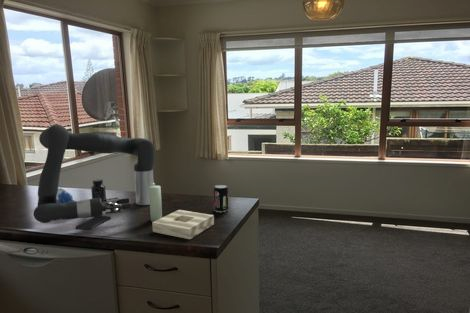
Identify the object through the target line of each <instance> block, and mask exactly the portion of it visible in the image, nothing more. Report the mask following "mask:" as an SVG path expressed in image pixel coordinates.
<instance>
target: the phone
mask: <svg viewBox="0 0 470 313" xmlns="http://www.w3.org/2000/svg"><path fill="white" fill-rule="evenodd" d="M110 220H112V217H111V216H107V215H102V216H97V217H90V218H89V219H88V220H85V221H83V222H81V223H79V224H78V225H75V229H77V230H85V231H87V230H88V231H91V230H93V229H95V228H97V227H99V226H101V225H103V224H105V223H107V222H108V221H110ZM106 221H107V222H106ZM104 222H105V223H104Z"/></svg>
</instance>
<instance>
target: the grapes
mask: <svg viewBox="0 0 470 313" xmlns="http://www.w3.org/2000/svg"><path fill="white" fill-rule="evenodd" d="M67 192H68V191H67ZM67 192H66V190H65V191H62V192H61V193H59V194H58V198H59V199H58V201H57V203H66V202H73V201H76V200H75V199H74V198H73V199H72V197H73V195H72V194H71V193H70V192H68V193H67Z"/></svg>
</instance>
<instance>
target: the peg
mask: <svg viewBox="0 0 470 313" xmlns="http://www.w3.org/2000/svg"><path fill="white" fill-rule="evenodd" d="M149 198H150V204H149V212H150V213H149V214H150V215H149V216H150V221H151V222H154V221H156V220H158V219H160V218H162V217H163V208H162V207H163V206H162V190H161V185H155V186H150V187H149Z"/></svg>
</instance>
